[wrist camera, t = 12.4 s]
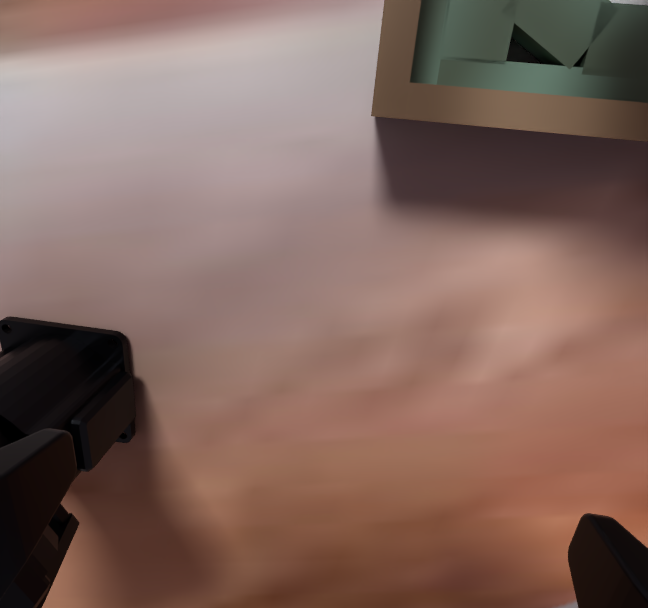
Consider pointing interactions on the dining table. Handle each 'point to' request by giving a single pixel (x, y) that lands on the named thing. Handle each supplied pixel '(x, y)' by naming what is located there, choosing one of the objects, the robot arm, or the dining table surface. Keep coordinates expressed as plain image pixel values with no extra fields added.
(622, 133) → the caddy
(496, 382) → the dining table surface
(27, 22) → the dining table surface
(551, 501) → the dining table surface
